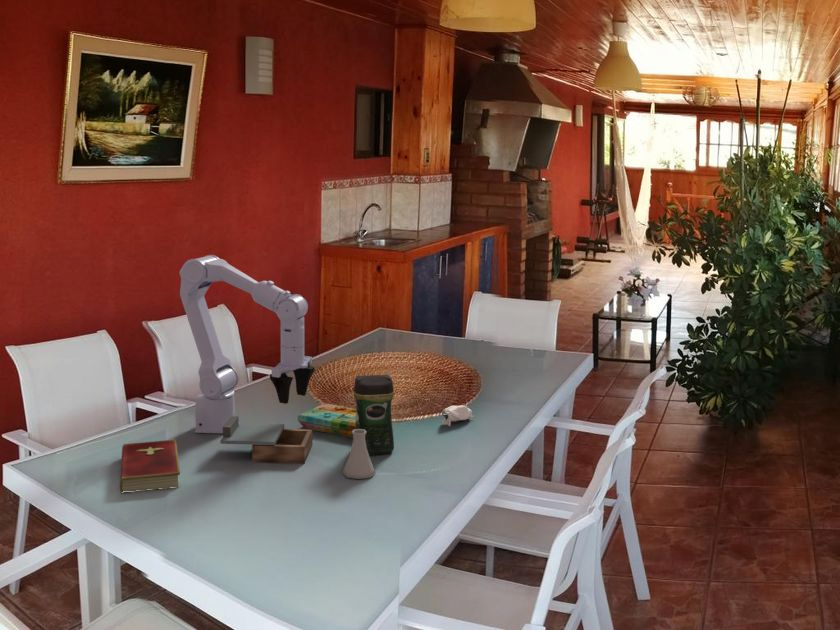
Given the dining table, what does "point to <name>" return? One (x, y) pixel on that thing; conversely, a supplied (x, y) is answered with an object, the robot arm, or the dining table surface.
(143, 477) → the hardcover book
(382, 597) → the dining table surface
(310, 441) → the box
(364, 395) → the coffee jar
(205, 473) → the dining table surface
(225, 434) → the lid
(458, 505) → the dining table surface
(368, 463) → the flask
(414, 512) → the dining table surface
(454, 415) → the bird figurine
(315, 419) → the puzzle game
